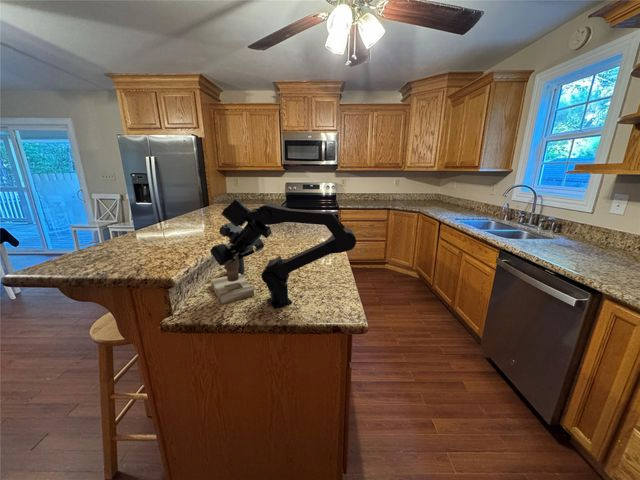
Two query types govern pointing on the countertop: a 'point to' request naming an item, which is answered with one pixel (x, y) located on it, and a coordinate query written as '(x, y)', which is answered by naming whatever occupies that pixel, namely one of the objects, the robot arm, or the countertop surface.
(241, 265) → the supplement bottle
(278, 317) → the countertop surface
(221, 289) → the board
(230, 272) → the walnut peg
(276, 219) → the robot arm
